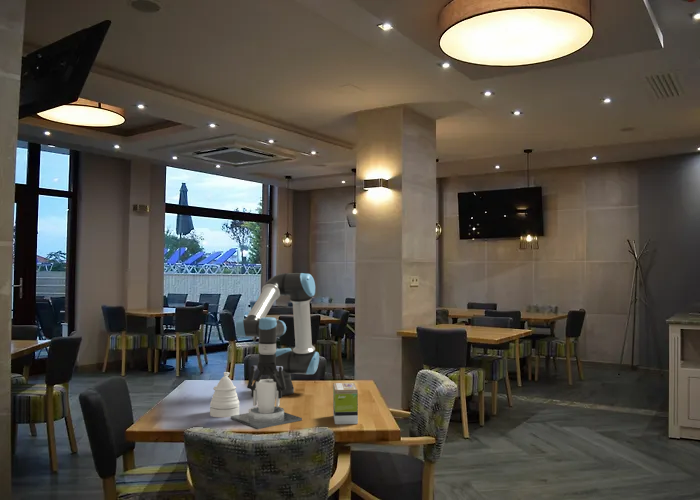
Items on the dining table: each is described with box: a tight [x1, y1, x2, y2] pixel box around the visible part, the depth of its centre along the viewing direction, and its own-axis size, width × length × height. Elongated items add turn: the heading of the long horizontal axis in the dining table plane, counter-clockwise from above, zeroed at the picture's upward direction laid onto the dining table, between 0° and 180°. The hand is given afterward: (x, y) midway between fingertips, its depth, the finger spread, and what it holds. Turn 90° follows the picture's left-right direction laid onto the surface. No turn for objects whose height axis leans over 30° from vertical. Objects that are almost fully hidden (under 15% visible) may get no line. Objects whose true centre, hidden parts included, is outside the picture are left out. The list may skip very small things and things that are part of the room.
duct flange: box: [230, 405, 303, 430], centre depth 245 cm, size 22×22×4 cm
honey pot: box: [209, 371, 240, 418], centre depth 255 cm, size 13×13×18 cm
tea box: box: [332, 382, 359, 425], centre depth 246 cm, size 15×10×15 cm, turn 5°
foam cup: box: [255, 378, 277, 413], centre depth 246 cm, size 10×9×13 cm
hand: (266, 405), depth 245 cm, fingers closed on foam cup, 9 cm apart
